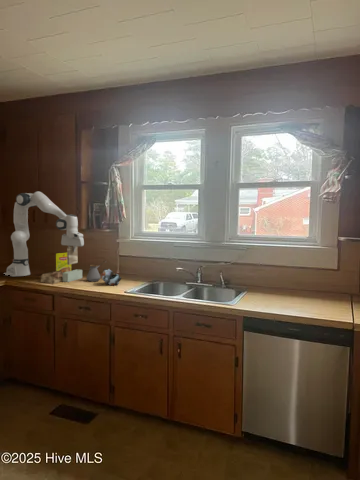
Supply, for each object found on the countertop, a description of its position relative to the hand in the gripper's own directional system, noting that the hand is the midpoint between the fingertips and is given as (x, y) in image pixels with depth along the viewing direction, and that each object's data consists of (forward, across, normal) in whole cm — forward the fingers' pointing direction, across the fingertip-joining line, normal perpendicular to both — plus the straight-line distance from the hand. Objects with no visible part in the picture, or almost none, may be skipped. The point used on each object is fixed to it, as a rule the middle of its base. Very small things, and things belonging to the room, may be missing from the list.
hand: (72, 251), depth 285 cm
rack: (+24, -10, -9) cm, 27 cm away
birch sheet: (+10, 0, 0) cm, 10 cm away
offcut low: (+24, -8, -9) cm, 27 cm away
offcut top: (+20, -8, -9) cm, 23 cm away
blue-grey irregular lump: (+24, +37, -1) cm, 44 cm away
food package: (+24, -18, +11) cm, 32 cm away
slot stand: (+24, 0, 0) cm, 24 cm away
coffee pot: (+24, +18, +9) cm, 31 cm away
